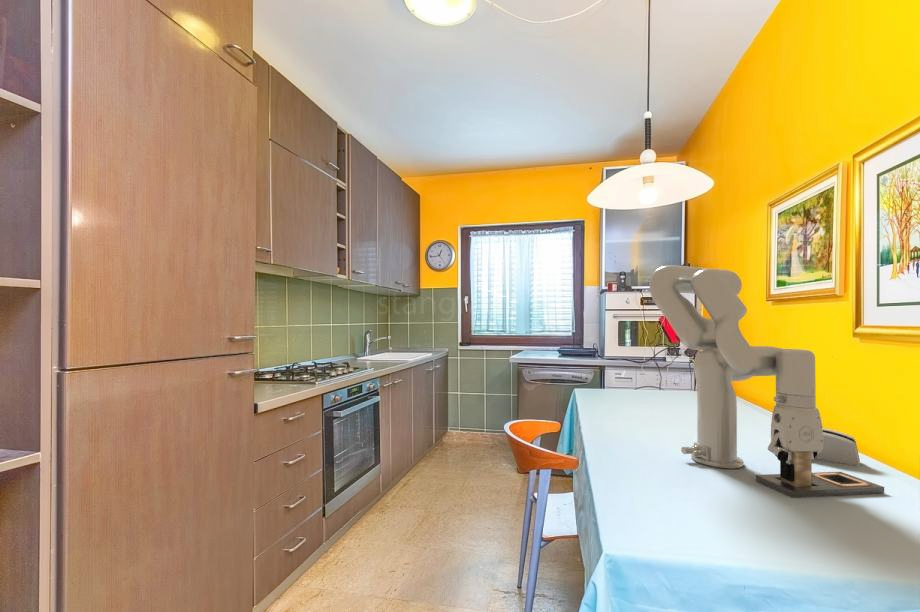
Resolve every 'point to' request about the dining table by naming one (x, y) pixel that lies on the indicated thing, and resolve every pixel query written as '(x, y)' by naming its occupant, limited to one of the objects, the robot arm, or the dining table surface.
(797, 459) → the plug
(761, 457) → the dining table surface
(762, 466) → the dining table surface
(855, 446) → the grey slotted arched block
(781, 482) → the grey flat holed plate
